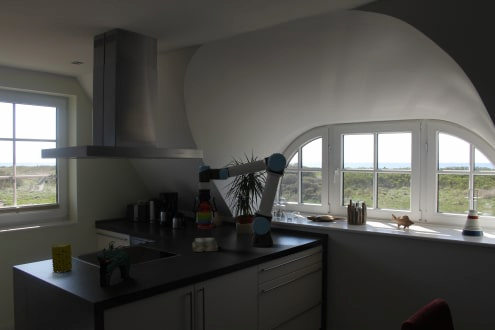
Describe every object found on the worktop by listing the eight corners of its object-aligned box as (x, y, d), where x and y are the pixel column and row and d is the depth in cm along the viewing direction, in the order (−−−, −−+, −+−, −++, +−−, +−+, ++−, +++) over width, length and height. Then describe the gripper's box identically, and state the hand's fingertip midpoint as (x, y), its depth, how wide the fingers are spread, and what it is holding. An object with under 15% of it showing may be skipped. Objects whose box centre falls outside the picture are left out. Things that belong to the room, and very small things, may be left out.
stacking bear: (210, 229, 254) (209, 201, 254) (195, 228, 256) (195, 201, 256) (214, 226, 265) (214, 200, 265) (200, 226, 267) (200, 200, 267)
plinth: (215, 245, 270) (215, 237, 270) (217, 250, 254) (217, 241, 254) (192, 246, 267) (192, 237, 267) (192, 251, 252) (192, 242, 252)
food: (57, 277, 202) (51, 274, 210) (80, 267, 210) (73, 265, 218) (49, 249, 200) (43, 247, 208) (72, 241, 208) (66, 239, 216)
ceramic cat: (105, 288, 180) (104, 244, 180) (94, 286, 182) (93, 243, 182) (132, 276, 198) (132, 236, 198) (122, 275, 201) (122, 236, 201)
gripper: (220, 188, 266) (220, 221, 266) (187, 188, 263) (187, 221, 263) (221, 188, 259) (221, 222, 259) (187, 189, 255) (187, 223, 255)
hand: (204, 222), depth 261 cm, fingers closed on stacking bear, 9 cm apart
